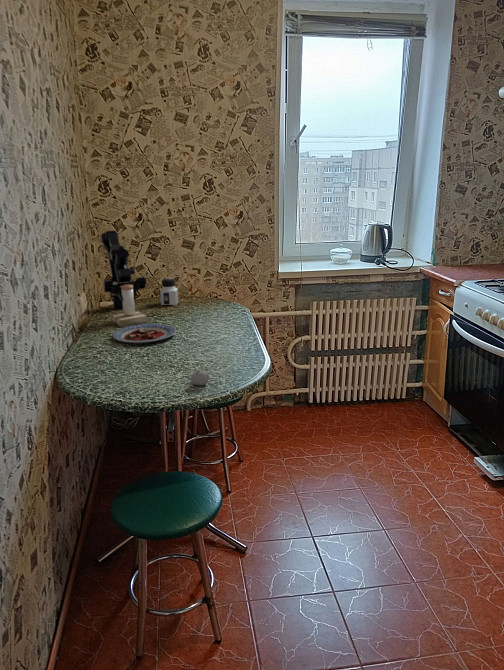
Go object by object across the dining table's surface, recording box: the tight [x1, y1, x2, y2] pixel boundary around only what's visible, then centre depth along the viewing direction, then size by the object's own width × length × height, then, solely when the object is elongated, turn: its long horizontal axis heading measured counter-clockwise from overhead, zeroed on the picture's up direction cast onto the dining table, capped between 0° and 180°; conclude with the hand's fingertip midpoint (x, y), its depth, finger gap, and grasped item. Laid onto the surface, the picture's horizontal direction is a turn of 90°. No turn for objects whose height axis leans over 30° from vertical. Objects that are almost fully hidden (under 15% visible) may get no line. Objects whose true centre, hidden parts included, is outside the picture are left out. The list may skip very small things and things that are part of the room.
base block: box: [112, 310, 148, 328], centre depth 245 cm, size 12×12×3 cm
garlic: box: [190, 369, 210, 386], centre depth 171 cm, size 6×5×5 cm
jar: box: [121, 284, 136, 315], centre depth 243 cm, size 5×5×13 cm
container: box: [159, 277, 179, 306], centre depth 276 cm, size 8×8×13 cm
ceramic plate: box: [112, 323, 177, 344], centre depth 223 cm, size 26×26×3 cm
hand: (128, 300), depth 242 cm, fingers closed on jar, 5 cm apart
